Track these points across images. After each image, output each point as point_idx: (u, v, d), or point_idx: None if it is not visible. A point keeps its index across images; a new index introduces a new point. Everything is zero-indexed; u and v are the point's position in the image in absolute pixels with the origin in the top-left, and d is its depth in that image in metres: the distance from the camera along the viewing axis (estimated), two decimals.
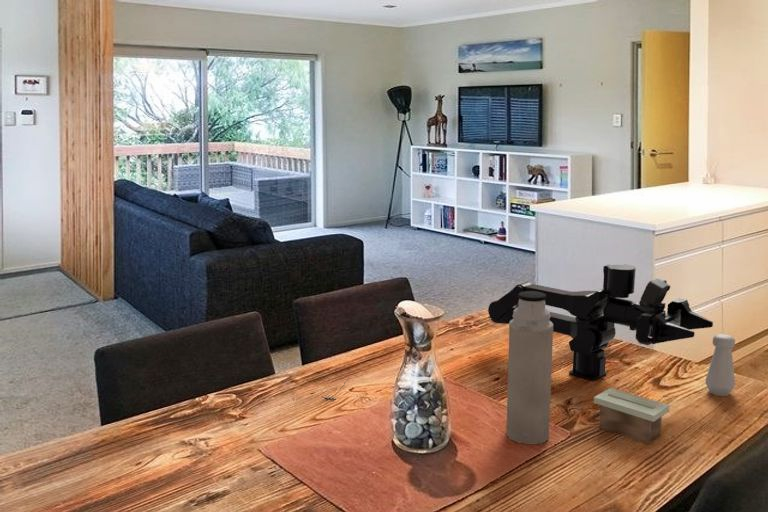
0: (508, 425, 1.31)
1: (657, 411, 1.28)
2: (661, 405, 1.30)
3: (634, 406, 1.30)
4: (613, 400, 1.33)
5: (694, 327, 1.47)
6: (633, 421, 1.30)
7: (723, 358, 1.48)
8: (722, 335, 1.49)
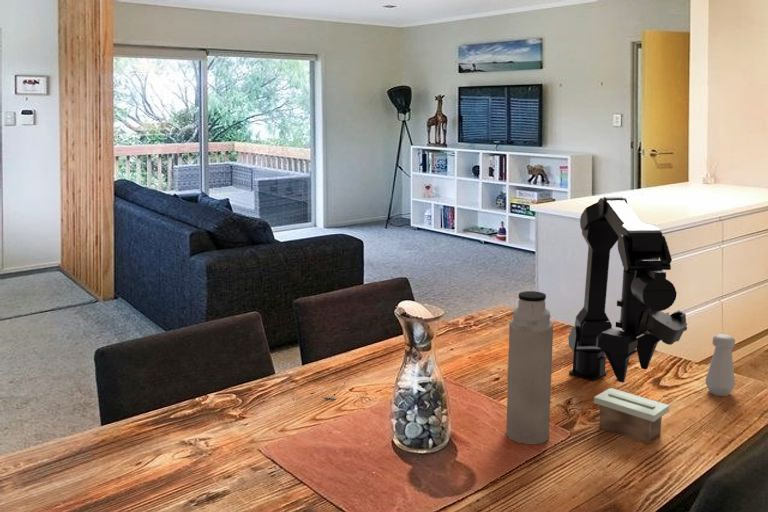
0: (508, 425, 1.31)
1: (657, 411, 1.28)
2: (661, 405, 1.30)
3: (634, 406, 1.30)
4: (613, 400, 1.33)
5: (638, 349, 1.35)
6: (633, 421, 1.30)
7: (723, 358, 1.48)
8: (722, 335, 1.49)
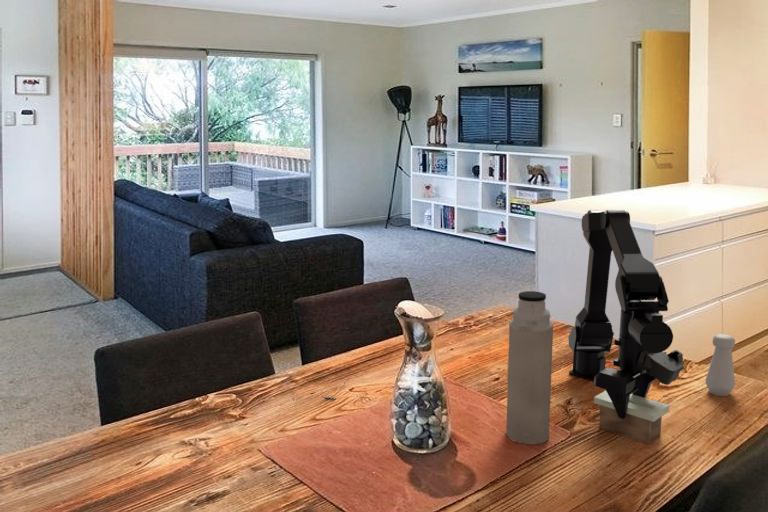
0: (508, 425, 1.31)
1: (657, 411, 1.28)
2: (661, 405, 1.30)
3: (634, 406, 1.30)
4: None
5: (633, 387, 1.35)
6: (633, 421, 1.30)
7: (723, 358, 1.48)
8: (722, 335, 1.49)
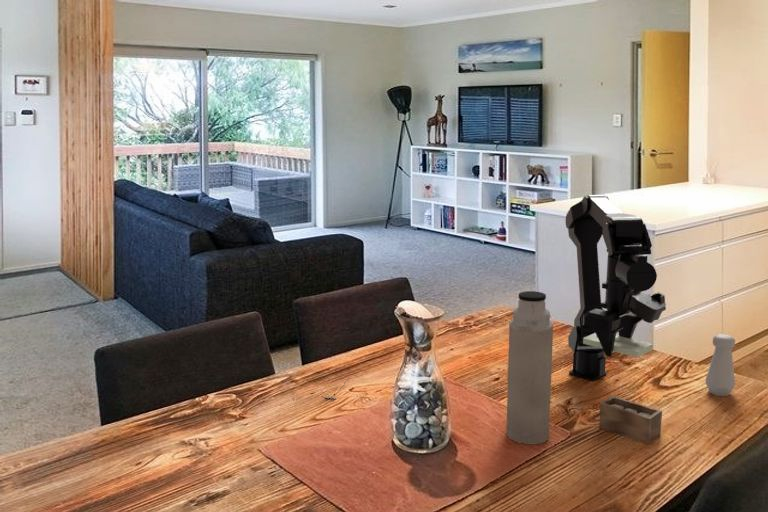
0: (508, 425, 1.31)
1: (641, 348, 1.38)
2: (645, 344, 1.40)
3: (620, 345, 1.40)
4: None
5: (619, 329, 1.46)
6: (633, 421, 1.30)
7: (723, 358, 1.48)
8: (722, 335, 1.49)
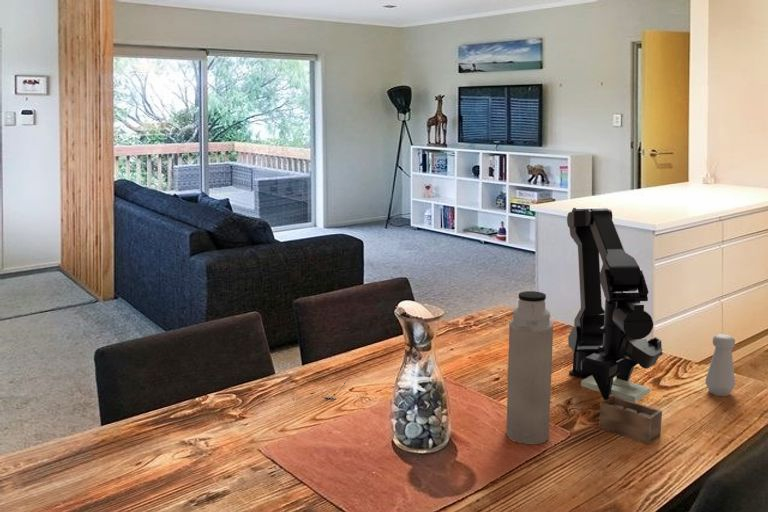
0: (508, 425, 1.31)
1: (638, 392, 1.40)
2: (642, 387, 1.42)
3: (617, 389, 1.42)
4: None
5: (616, 372, 1.48)
6: (633, 421, 1.30)
7: (723, 358, 1.48)
8: (722, 335, 1.49)
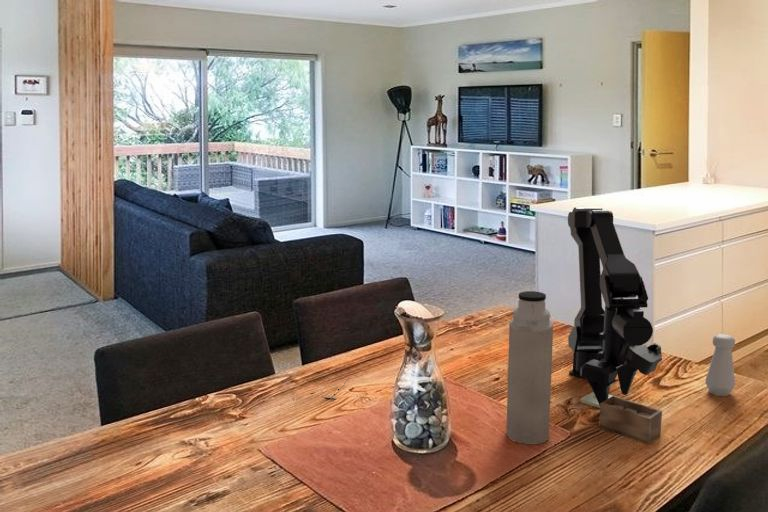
0: (508, 425, 1.31)
1: None
2: None
3: None
4: (597, 402, 1.45)
5: (619, 376, 1.49)
6: (633, 421, 1.30)
7: (723, 358, 1.48)
8: (722, 335, 1.49)
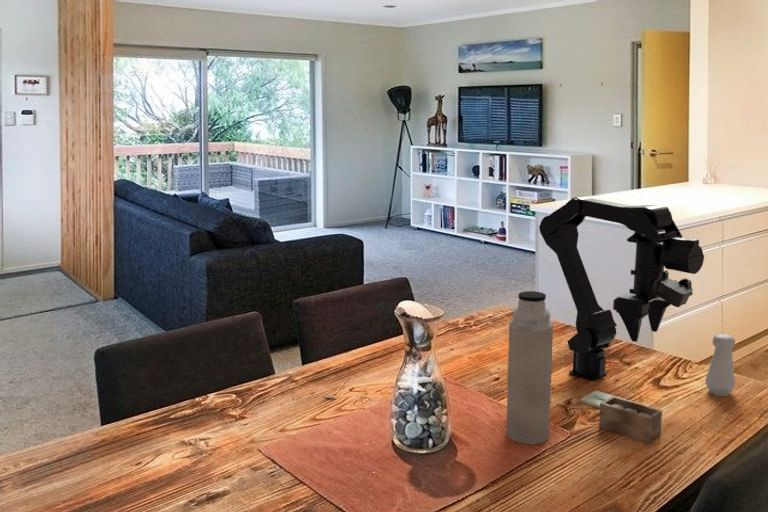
0: (508, 425, 1.31)
1: None
2: None
3: None
4: (597, 402, 1.45)
5: (649, 313, 1.52)
6: (633, 421, 1.30)
7: (723, 358, 1.48)
8: (722, 335, 1.49)
